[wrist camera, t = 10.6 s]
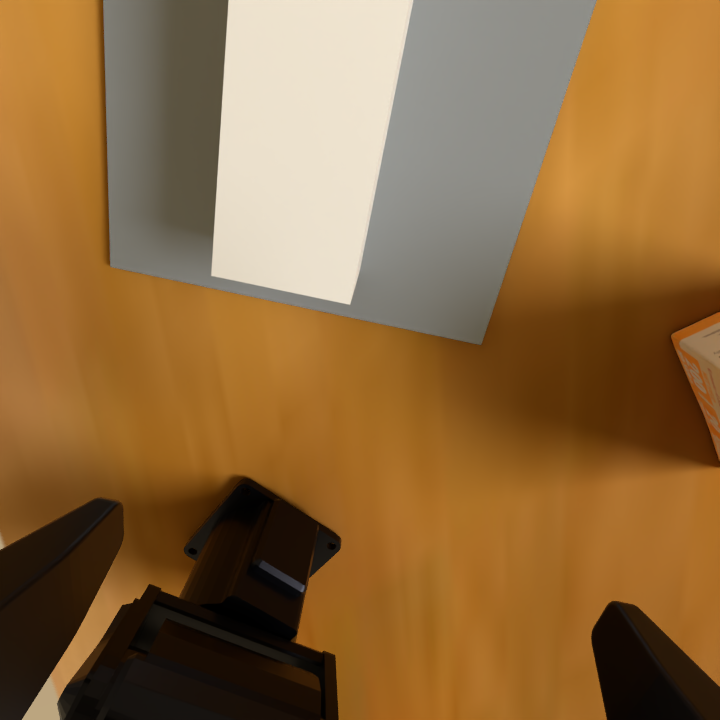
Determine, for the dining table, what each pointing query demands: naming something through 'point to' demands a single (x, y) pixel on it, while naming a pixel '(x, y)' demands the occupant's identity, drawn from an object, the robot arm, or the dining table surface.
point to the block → (303, 139)
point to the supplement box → (703, 368)
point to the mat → (399, 161)
